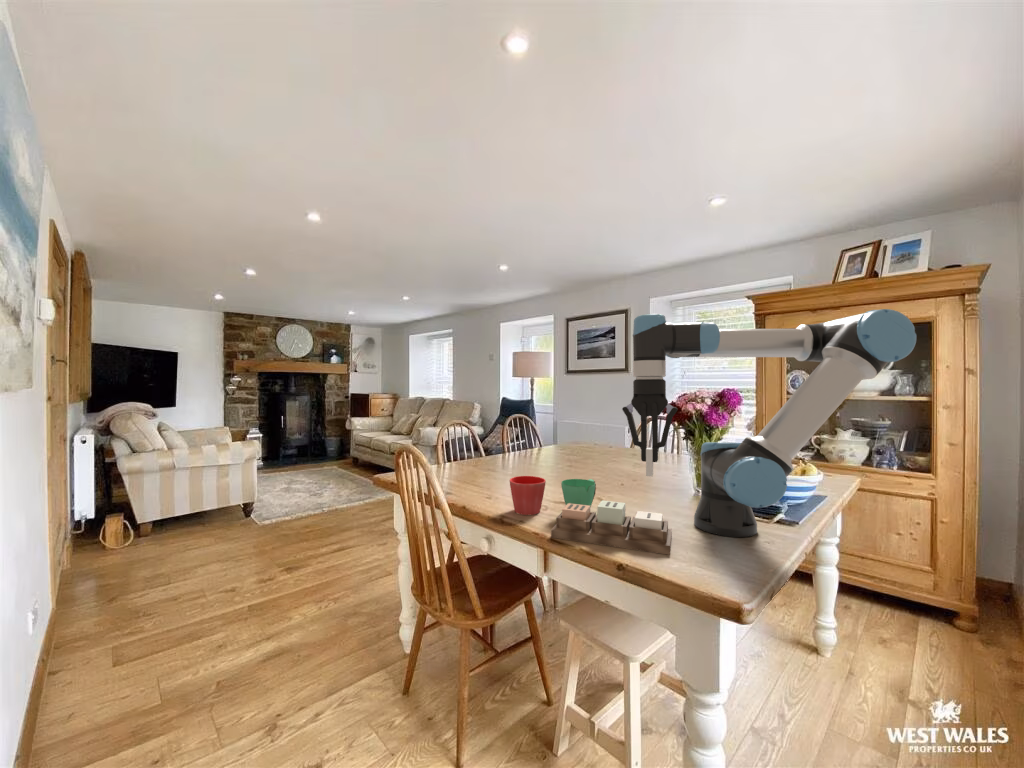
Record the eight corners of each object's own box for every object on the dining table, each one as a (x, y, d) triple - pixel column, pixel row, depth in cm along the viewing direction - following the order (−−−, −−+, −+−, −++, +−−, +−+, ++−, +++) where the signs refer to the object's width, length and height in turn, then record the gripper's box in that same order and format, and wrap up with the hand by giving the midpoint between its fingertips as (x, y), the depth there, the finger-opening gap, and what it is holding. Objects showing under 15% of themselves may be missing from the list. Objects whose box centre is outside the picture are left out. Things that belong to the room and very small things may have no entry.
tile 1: (662, 529, 104) (662, 513, 104) (661, 538, 99) (661, 520, 99) (637, 526, 106) (637, 510, 106) (634, 534, 101) (634, 517, 101)
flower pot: (546, 517, 122) (546, 483, 122) (509, 517, 122) (509, 483, 122) (544, 506, 133) (544, 475, 133) (509, 506, 133) (509, 475, 133)
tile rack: (671, 537, 106) (671, 519, 106) (670, 554, 95) (670, 534, 95) (563, 522, 117) (564, 506, 117) (551, 537, 106) (551, 519, 106)
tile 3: (590, 520, 111) (590, 505, 111) (585, 527, 105) (585, 511, 105) (568, 518, 113) (568, 502, 113) (562, 524, 108) (562, 508, 108)
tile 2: (625, 518, 108) (625, 502, 108) (622, 525, 102) (622, 508, 102) (601, 515, 110) (601, 499, 110) (597, 522, 104) (597, 506, 104)
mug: (586, 524, 115) (586, 488, 115) (555, 518, 121) (555, 483, 121) (607, 511, 127) (607, 478, 127) (578, 506, 133) (578, 474, 133)
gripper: (678, 378, 104) (678, 474, 104) (623, 378, 109) (624, 470, 109) (677, 378, 97) (678, 480, 97) (619, 378, 102) (620, 476, 102)
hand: (649, 475), depth 103 cm, fingers closed
